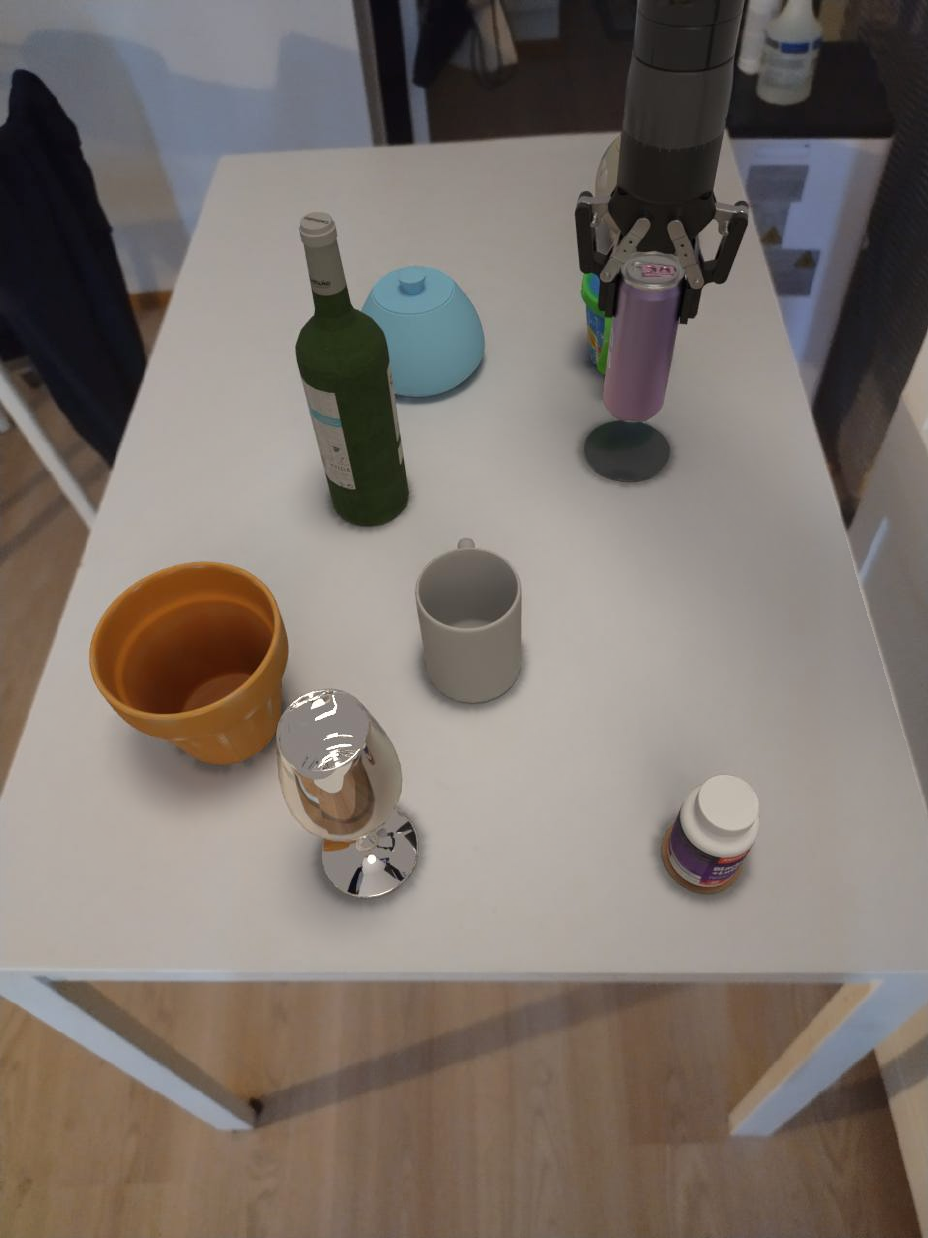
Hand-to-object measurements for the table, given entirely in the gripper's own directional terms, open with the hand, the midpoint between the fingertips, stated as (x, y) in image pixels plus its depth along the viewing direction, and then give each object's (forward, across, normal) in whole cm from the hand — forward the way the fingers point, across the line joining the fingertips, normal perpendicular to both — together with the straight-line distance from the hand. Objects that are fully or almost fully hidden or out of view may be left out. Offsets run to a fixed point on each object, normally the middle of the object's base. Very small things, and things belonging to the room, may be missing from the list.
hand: (646, 315), depth 77 cm
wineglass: (+17, -15, -47) cm, 52 cm away
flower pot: (+17, -30, -38) cm, 51 cm away
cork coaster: (+17, +10, -42) cm, 47 cm away
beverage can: (+11, 0, 0) cm, 11 cm away
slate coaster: (+17, 0, 0) cm, 17 cm away
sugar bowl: (+17, -25, +11) cm, 32 cm away
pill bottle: (+17, +10, -42) cm, 47 cm away
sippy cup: (+17, -2, +15) cm, 23 cm away
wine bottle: (+17, -25, -11) cm, 32 cm away
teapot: (+17, -2, +38) cm, 41 cm away
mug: (+17, -11, -27) cm, 34 cm away
